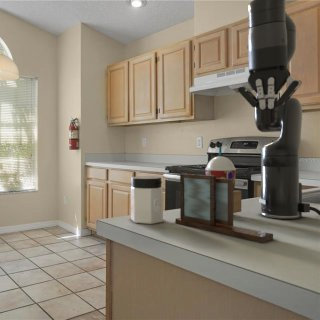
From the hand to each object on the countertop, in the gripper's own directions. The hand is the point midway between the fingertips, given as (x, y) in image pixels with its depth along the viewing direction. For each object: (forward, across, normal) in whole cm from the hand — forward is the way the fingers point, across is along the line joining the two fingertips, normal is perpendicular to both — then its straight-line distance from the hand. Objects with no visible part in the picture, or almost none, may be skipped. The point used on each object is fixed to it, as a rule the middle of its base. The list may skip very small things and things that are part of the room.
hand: (269, 125), depth 76 cm
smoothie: (+27, +16, -8) cm, 33 cm away
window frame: (+24, +8, +10) cm, 27 cm away
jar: (+24, +27, +13) cm, 39 cm away
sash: (+23, +9, +7) cm, 26 cm away
